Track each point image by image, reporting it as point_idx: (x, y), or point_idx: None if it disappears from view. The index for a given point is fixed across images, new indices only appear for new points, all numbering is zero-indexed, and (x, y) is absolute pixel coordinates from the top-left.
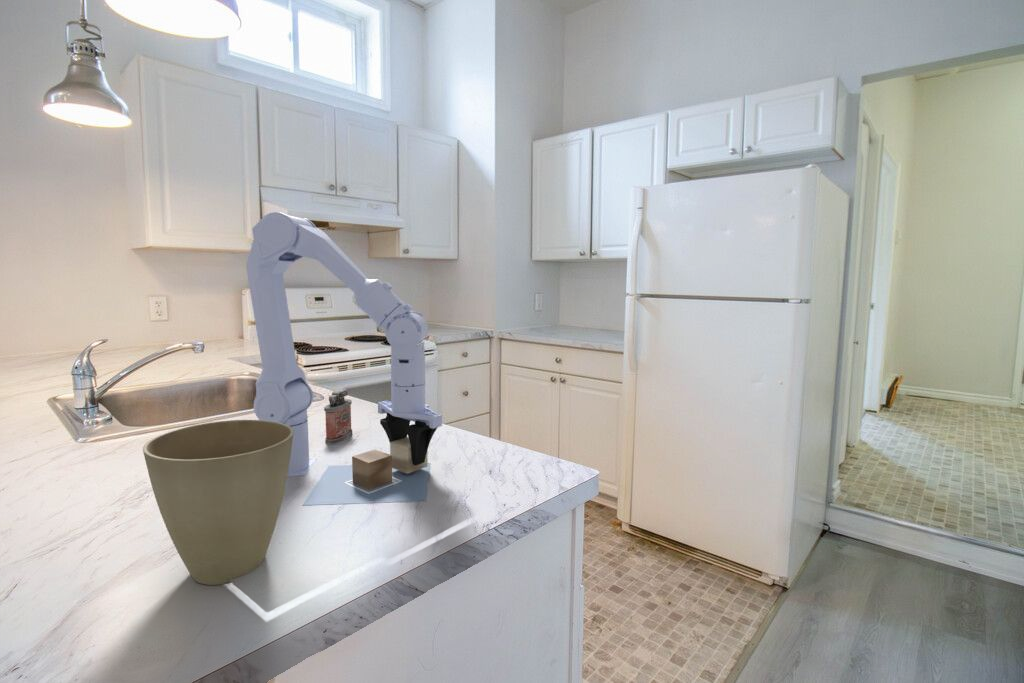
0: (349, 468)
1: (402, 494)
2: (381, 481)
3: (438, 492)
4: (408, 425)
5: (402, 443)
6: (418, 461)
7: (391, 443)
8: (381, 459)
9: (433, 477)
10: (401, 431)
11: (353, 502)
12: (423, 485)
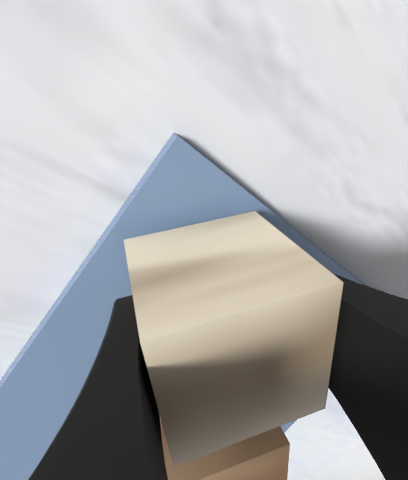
0: (9, 441)
1: None
2: None
3: (377, 250)
4: (149, 464)
5: (248, 416)
6: None
7: (185, 455)
8: (285, 470)
9: (286, 200)
10: (157, 467)
11: None
12: None
